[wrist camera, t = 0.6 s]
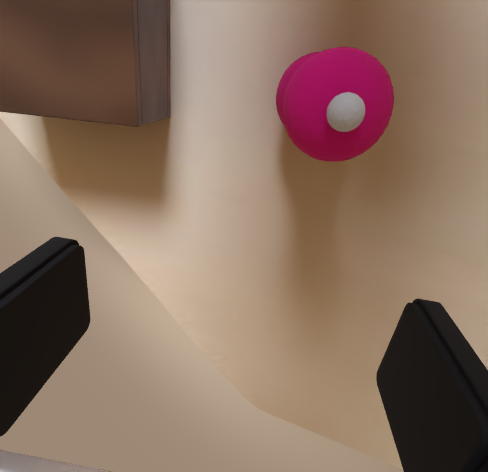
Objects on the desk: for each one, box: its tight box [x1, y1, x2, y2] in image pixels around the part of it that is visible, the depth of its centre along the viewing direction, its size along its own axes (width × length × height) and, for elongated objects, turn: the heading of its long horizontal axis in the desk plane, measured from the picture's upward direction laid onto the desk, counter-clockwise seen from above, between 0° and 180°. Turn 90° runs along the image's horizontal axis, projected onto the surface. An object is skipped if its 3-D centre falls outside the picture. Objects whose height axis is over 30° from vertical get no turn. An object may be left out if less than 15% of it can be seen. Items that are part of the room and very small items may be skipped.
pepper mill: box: [276, 47, 394, 162], centre depth 24 cm, size 7×7×20 cm
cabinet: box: [0, 0, 170, 127], centre depth 28 cm, size 17×15×9 cm
